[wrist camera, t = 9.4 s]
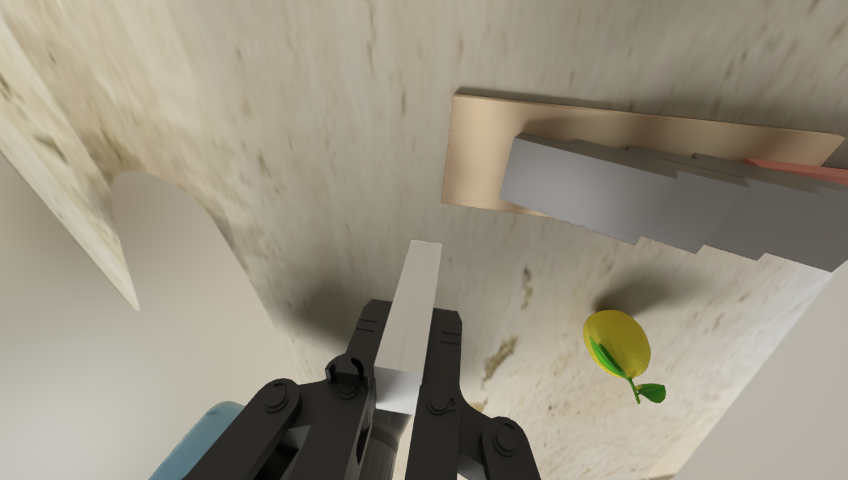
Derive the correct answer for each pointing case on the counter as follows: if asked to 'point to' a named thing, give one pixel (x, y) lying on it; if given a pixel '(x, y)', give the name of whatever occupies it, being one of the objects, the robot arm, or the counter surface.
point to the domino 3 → (752, 207)
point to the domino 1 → (585, 186)
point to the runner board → (598, 141)
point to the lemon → (621, 349)
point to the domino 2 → (686, 200)
